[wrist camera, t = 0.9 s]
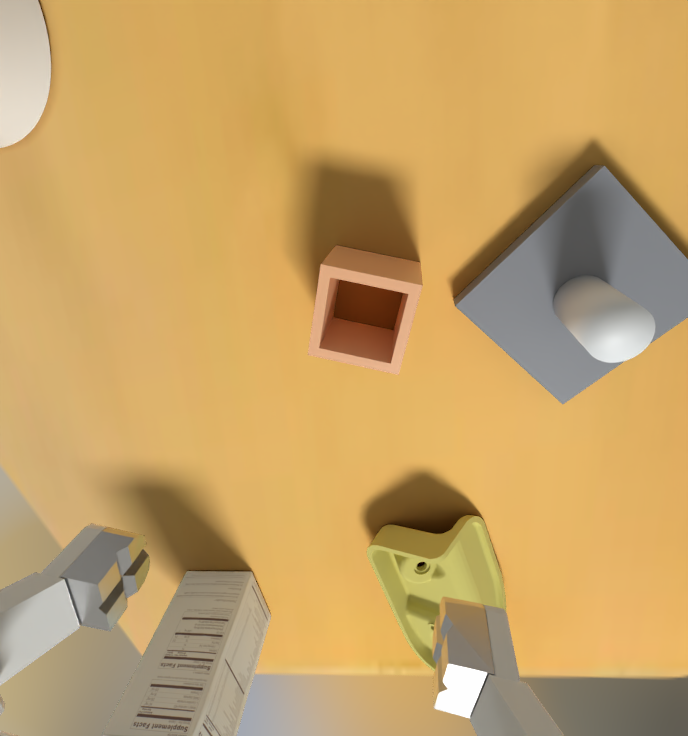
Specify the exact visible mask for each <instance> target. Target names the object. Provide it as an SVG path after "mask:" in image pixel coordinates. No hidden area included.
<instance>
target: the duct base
mask: <svg viewBox="0 0 688 736" xmlns="http://www.w3.org/2000/svg"><path fill="white" fill-rule="evenodd" d="M453 300H454V304H455V306H456V307H457V308H458V309H459V310H460V311H461V312H462V313H463V314H464V315H466V316H467V317H468V318H469V319H470V320H471V321H472V322H473V323H474V324H475V325H477V326H478V327H479V328H480V329H481V330H482V331H483V332H484V333H485V334H486V335H487V336H489V337H490V338H491V339H492V340H493V341H494V342H495V343H496V344H497V345H498V346H500V347H501V348H502V349H503V350H504V351H505V352H506V353H507V354H508V355H509V356H510V357H512V358H513V359H514V360H515V361H516V362H517V363H518V364H519V365H520V366H521V367H522V368H524V369H525V370H526V371H527V372H528V373H529V374H530V375H531V376H532V377H533V378H535V379H536V380H537V381H538V382H539V383H540V384H541V385H542V386H543V387H544V388H545V389H547V390H548V391H549V392H550V393H551V394H552V395H553V396H554V397H555V398H556V399H558V400H559V401H560V402H561V403H562V404H564V403H565V402H567V401H568V400H570V399H571V398H573V397H574V396H575V395H577V394H578V393H580V392H581V391H583V390H584V389H586V388H587V387H588V386H590V385H591V384H593V383H594V382H596V381H597V380H598V379H600V378H601V377H603V376H604V375H606V374H607V373H609V372H610V371H611V370H613V369H614V368H616V367H617V366H619V365H620V364H621V363H623V362H624V361H626V360H629V359H631V358H633V357H635V356H637V355H638V354H640V353H641V352H642V351H643V350H644V349H646V347H647V346H648V345H649V344H650V343H652V342H653V341H655V340H656V339H657V338H659V337H660V336H662V335H663V334H665V333H666V332H667V331H669V330H670V329H672V328H673V327H675V326H676V325H678V324H679V323H680V322H682V321H683V320H685V319H686V318H688V259H687V258H686V257H685V256H684V255H683V254H682V252H681V251H680V250H679V249H678V248H677V247H676V246H675V245H674V243H673V242H672V241H671V240H670V239H669V238H668V237H667V236H666V234H665V233H664V232H663V231H662V230H661V229H660V228H659V227H658V225H657V224H656V223H655V222H654V221H653V220H652V219H651V217H650V216H649V215H648V214H647V213H646V212H645V211H644V210H643V208H642V207H641V206H640V205H639V204H638V203H637V202H636V201H635V199H634V198H633V197H632V196H631V195H630V194H629V193H628V192H627V190H626V189H625V188H624V187H623V186H622V185H621V184H620V183H619V181H618V180H617V179H616V178H615V177H614V176H613V175H612V174H611V172H610V171H609V170H608V169H607V168H606V167H605V166H602V165H594V166H593V167H592V168H591V169H590V170H589V171H588V172H587V173H586V174H585V175H584V176H583V177H582V178H581V179H579V180H578V181H577V182H576V183H575V184H574V185H573V186H572V187H571V188H570V189H569V190H568V191H567V192H566V193H565V194H564V195H563V196H562V197H561V198H560V199H558V200H557V201H556V202H555V203H554V204H553V205H552V206H551V207H550V208H549V209H548V210H547V211H546V212H545V213H544V214H543V215H542V216H541V217H540V218H538V219H537V220H536V221H535V222H534V223H533V224H532V225H531V226H530V227H529V228H528V229H527V230H526V231H525V232H524V233H523V234H522V235H521V236H520V237H519V238H517V239H516V240H515V241H514V242H513V243H512V244H511V245H510V246H509V247H508V248H507V249H506V250H505V251H504V252H503V253H502V254H501V255H500V256H499V257H498V258H496V259H495V260H494V261H493V262H492V263H491V264H490V265H489V266H488V267H487V268H486V269H485V270H484V271H483V272H482V273H481V274H480V275H479V276H478V277H476V278H475V279H474V280H473V281H472V282H471V283H470V284H469V285H468V286H467V287H466V288H465V289H464V290H463V291H462V292H461V293H460V294H459V295H458V296H457V297H455V298H454V299H453Z"/></svg>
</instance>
